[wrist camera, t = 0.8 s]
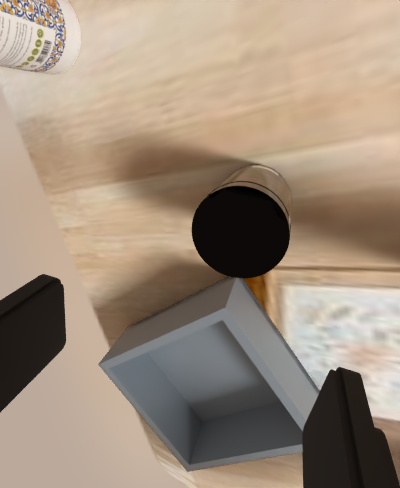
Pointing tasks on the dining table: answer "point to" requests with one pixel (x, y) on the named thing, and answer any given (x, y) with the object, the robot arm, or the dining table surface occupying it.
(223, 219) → the supplement container
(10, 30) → the bath foam
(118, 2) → the dining table surface
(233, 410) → the tote
